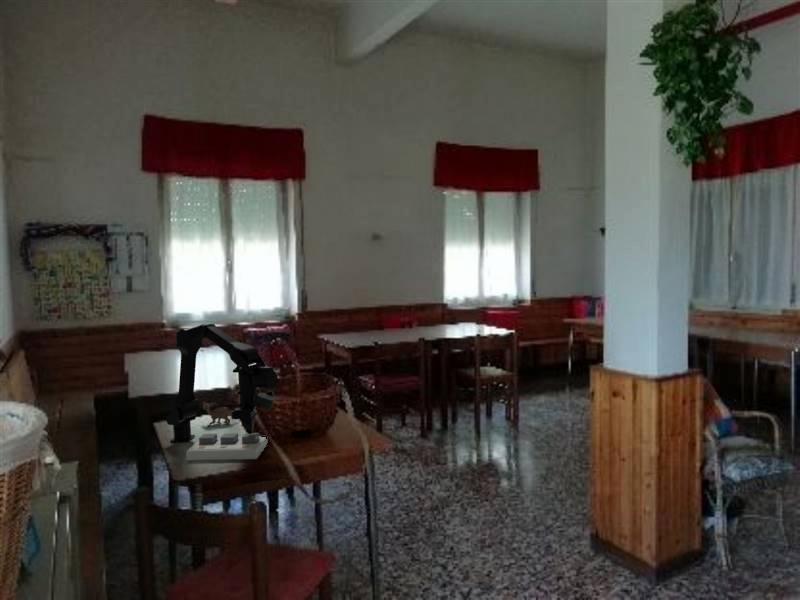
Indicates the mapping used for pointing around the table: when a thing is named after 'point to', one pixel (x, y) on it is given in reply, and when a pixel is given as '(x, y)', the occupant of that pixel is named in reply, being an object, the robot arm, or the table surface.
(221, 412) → the dinosaur figurine
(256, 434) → the button
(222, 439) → the middle button
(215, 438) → the button
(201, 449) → the button panel
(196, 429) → the table surface
